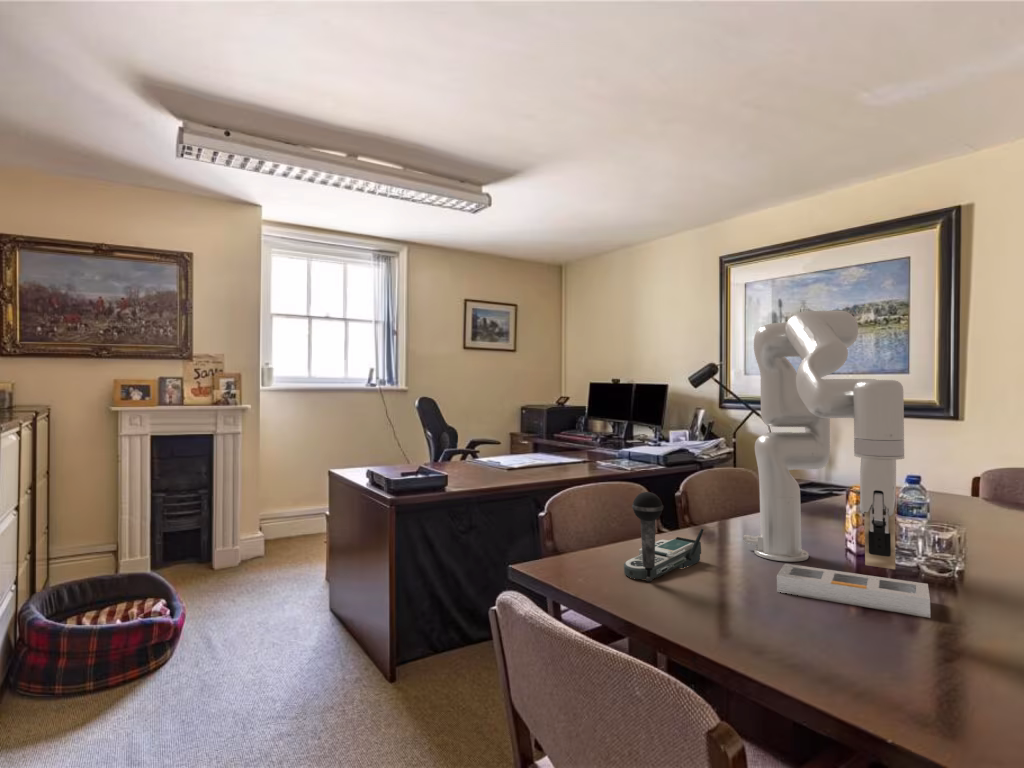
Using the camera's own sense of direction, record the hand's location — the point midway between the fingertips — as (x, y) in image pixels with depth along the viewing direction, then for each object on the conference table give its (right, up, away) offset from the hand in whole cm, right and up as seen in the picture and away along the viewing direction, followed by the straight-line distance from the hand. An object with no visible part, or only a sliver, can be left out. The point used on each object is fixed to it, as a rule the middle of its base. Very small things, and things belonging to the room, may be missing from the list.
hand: (880, 550), depth 101 cm
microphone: (-35, -15, +26) cm, 46 cm away
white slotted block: (+4, -14, +15) cm, 21 cm away
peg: (0, -2, 0) cm, 2 cm away
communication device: (-30, -15, +36) cm, 49 cm away
